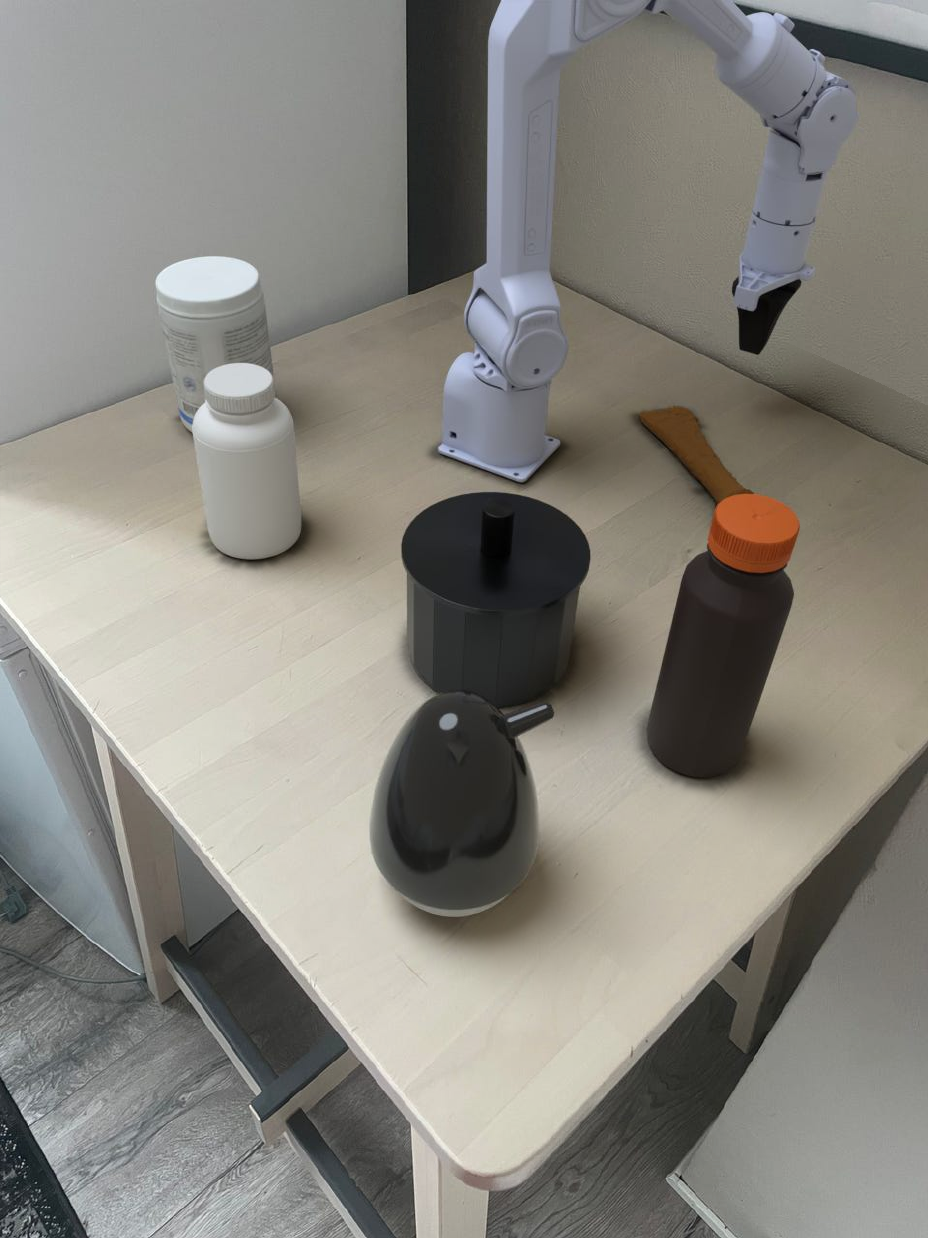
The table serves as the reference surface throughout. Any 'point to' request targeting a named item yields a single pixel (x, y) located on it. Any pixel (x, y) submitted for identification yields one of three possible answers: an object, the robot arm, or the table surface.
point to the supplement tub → (210, 323)
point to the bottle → (723, 637)
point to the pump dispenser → (457, 804)
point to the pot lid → (495, 554)
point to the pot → (489, 648)
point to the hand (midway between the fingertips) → (751, 349)
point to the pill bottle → (247, 463)
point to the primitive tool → (692, 449)
